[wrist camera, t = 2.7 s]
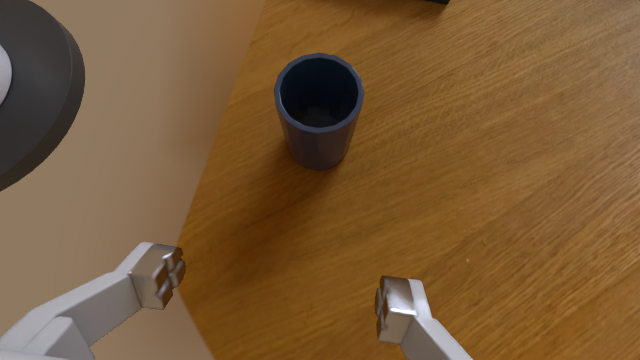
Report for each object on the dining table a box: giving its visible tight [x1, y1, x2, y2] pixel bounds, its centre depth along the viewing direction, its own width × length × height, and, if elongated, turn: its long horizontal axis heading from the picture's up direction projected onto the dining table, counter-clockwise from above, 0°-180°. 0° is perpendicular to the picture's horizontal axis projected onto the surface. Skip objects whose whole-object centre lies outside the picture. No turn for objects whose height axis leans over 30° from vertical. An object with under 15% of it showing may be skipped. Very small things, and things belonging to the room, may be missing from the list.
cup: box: [274, 53, 364, 170], centre depth 24 cm, size 6×6×9 cm
